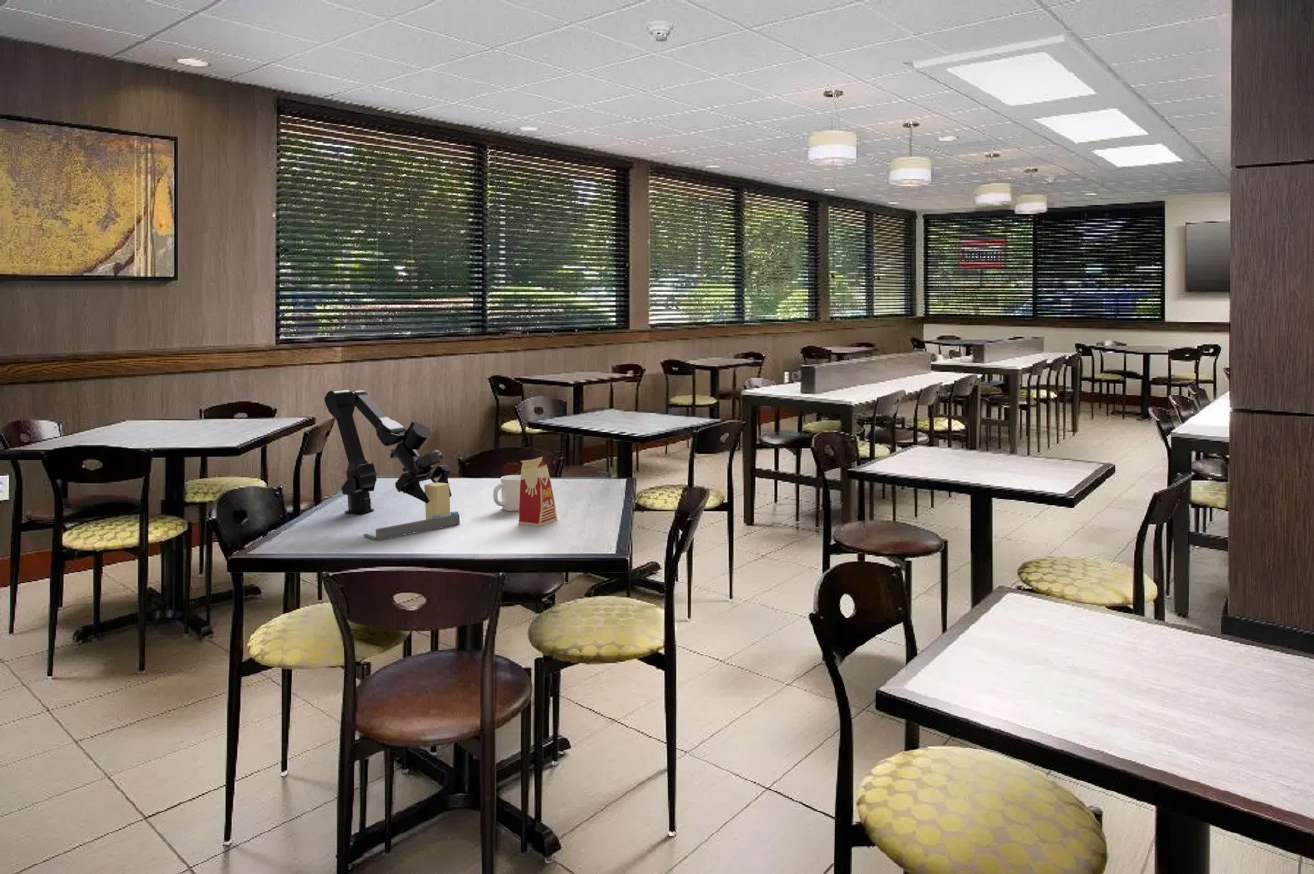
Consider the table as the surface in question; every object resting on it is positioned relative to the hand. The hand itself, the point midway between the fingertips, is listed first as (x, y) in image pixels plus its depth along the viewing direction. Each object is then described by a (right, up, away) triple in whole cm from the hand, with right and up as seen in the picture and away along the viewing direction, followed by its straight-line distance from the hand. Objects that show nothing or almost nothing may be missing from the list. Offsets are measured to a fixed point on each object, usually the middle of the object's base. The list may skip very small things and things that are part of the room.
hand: (439, 499), depth 260 cm
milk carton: (+28, -7, +3) cm, 29 cm away
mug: (+18, -5, +20) cm, 27 cm away
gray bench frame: (-6, -8, -6) cm, 12 cm away
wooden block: (-1, -7, +2) cm, 8 cm away
